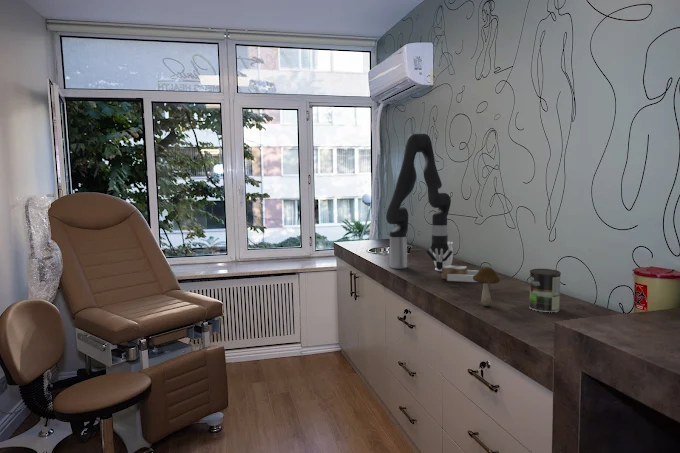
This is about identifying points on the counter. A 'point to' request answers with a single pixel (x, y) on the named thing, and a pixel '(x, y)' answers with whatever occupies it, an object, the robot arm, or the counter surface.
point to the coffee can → (544, 290)
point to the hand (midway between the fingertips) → (439, 269)
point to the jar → (449, 260)
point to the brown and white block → (453, 270)
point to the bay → (463, 276)
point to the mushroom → (486, 283)
